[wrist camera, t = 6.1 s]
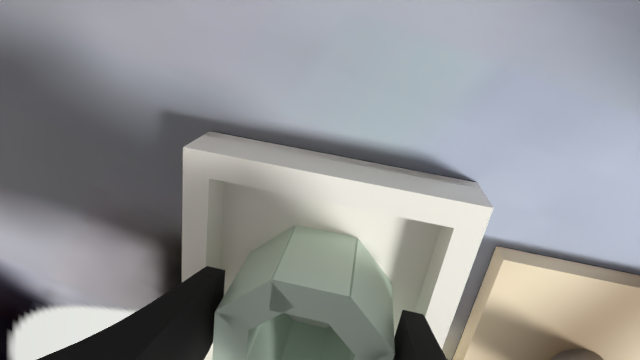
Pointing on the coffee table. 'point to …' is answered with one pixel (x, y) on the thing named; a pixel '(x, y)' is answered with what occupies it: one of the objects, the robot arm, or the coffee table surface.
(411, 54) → the coffee table surface
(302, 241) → the ring
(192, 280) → the robot arm
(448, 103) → the coffee table surface
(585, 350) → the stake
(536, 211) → the coffee table surface
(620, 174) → the coffee table surface
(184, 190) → the tray
